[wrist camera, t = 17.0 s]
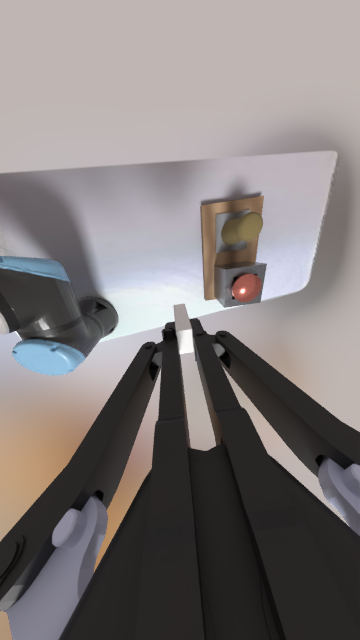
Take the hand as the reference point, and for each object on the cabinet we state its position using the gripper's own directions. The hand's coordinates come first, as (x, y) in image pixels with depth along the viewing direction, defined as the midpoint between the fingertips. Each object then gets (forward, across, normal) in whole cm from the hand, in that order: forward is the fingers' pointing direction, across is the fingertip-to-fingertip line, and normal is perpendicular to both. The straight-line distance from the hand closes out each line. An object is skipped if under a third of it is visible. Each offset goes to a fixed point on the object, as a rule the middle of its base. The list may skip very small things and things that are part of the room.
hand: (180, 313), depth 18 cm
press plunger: (+24, +18, -3) cm, 30 cm away
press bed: (+29, +18, +4) cm, 34 cm away
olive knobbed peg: (+26, +18, +10) cm, 33 cm away
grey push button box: (+27, +18, -3) cm, 32 cm away
